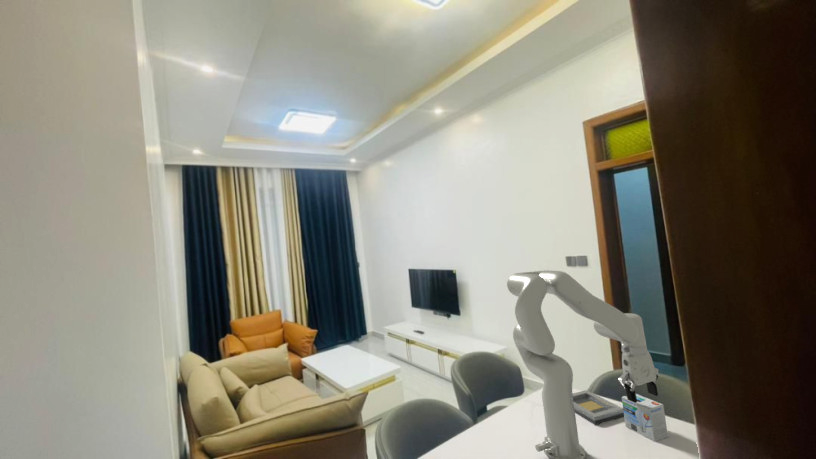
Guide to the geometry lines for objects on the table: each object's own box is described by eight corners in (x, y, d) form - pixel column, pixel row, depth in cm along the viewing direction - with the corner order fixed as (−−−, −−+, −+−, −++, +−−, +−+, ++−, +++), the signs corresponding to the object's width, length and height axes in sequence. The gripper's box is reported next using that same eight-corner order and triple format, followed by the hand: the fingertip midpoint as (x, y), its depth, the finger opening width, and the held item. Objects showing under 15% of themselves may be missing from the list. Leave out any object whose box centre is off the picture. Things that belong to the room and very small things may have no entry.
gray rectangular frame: (595, 425, 117) (594, 417, 117) (560, 403, 134) (559, 396, 135) (624, 416, 121) (623, 408, 121) (587, 396, 138) (586, 390, 138)
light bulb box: (624, 426, 115) (620, 396, 115) (638, 421, 117) (633, 392, 117) (655, 442, 104) (650, 409, 105) (669, 436, 106) (664, 404, 107)
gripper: (625, 357, 107) (634, 408, 106) (662, 346, 111) (671, 396, 110) (606, 351, 114) (614, 399, 113) (642, 341, 118) (650, 387, 117)
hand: (642, 397), depth 111 cm, fingers open, 9 cm apart
